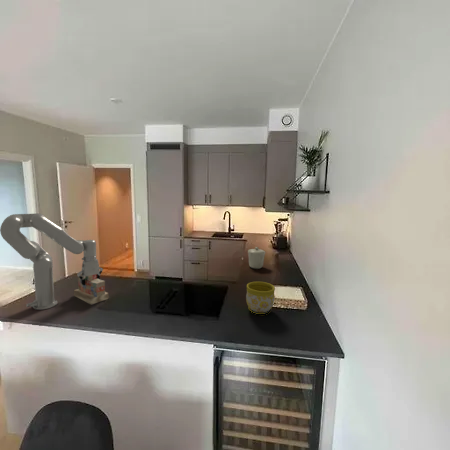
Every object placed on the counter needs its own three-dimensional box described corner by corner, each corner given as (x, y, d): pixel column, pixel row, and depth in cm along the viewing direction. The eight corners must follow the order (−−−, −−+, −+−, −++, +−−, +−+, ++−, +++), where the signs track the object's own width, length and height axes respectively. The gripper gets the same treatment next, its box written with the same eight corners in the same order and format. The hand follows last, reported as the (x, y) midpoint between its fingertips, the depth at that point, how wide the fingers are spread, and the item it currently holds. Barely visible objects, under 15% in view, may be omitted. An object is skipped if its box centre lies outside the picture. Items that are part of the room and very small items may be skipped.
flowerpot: (253, 319, 154) (255, 293, 152) (240, 306, 170) (241, 282, 168) (279, 315, 161) (280, 289, 158) (264, 303, 177) (265, 280, 175)
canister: (257, 271, 249) (259, 249, 246) (243, 267, 261) (244, 246, 258) (268, 267, 262) (269, 247, 259) (253, 263, 274) (254, 244, 271)
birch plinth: (91, 304, 165) (91, 298, 165) (74, 295, 177) (73, 290, 177) (108, 298, 175) (108, 293, 174) (91, 290, 187) (91, 285, 187)
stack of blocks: (105, 294, 172) (104, 276, 171) (96, 297, 167) (96, 279, 165) (87, 287, 183) (86, 270, 182) (78, 289, 178) (77, 272, 176)
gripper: (79, 262, 163) (80, 287, 166) (105, 256, 178) (106, 280, 180) (73, 259, 168) (74, 285, 170) (99, 255, 182) (100, 278, 184)
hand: (90, 282), depth 175 cm, fingers open, 9 cm apart
